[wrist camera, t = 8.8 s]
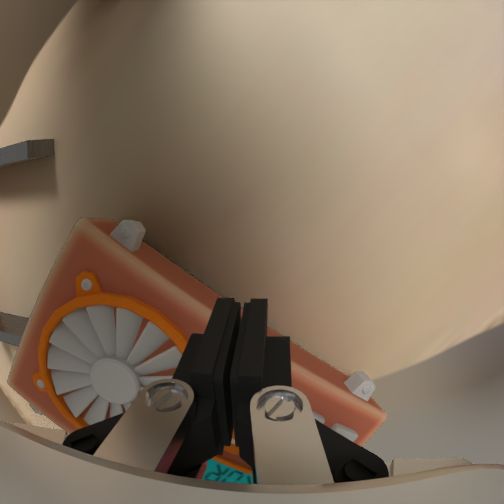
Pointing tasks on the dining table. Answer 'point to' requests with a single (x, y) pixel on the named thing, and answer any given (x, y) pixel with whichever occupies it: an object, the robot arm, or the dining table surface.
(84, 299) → the control panel
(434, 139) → the dining table surface
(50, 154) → the docking guide
